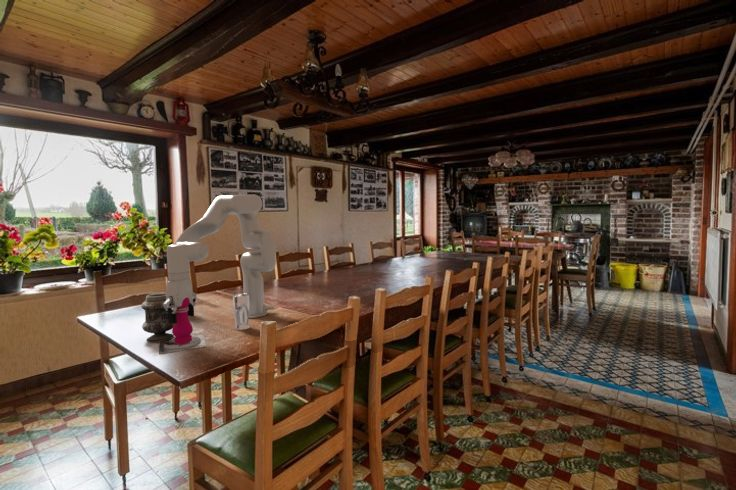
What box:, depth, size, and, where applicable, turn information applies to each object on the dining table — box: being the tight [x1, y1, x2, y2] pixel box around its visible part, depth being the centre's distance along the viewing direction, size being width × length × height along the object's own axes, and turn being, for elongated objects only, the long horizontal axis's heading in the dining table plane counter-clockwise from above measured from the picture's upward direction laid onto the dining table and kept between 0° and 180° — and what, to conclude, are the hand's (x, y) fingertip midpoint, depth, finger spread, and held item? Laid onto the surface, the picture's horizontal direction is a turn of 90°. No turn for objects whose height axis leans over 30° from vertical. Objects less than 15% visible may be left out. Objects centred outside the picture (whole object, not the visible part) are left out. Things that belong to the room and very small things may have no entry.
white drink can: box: [232, 292, 250, 331], centre depth 170 cm, size 7×7×15 cm
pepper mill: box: [171, 297, 194, 344], centre depth 151 cm, size 7×7×20 cm
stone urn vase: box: [141, 292, 175, 343], centre depth 157 cm, size 12×12×18 cm
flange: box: [158, 334, 207, 355], centre depth 151 cm, size 16×16×1 cm
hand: (181, 319), depth 151 cm, fingers open, 9 cm apart
